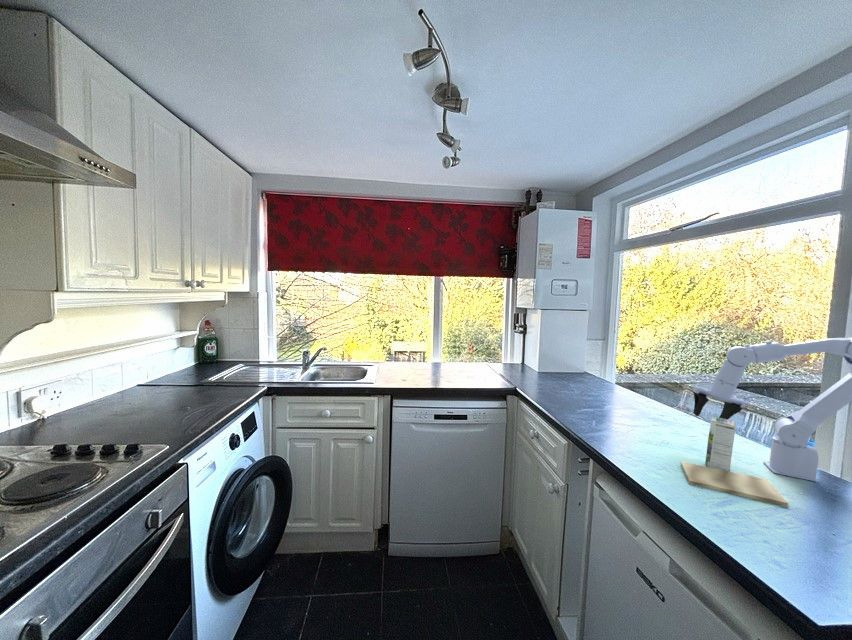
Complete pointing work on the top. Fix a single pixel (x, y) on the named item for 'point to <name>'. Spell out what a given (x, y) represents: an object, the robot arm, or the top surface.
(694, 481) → the bamboo board
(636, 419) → the top surface
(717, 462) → the syrup box
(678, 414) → the top surface
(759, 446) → the top surface
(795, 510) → the top surface
